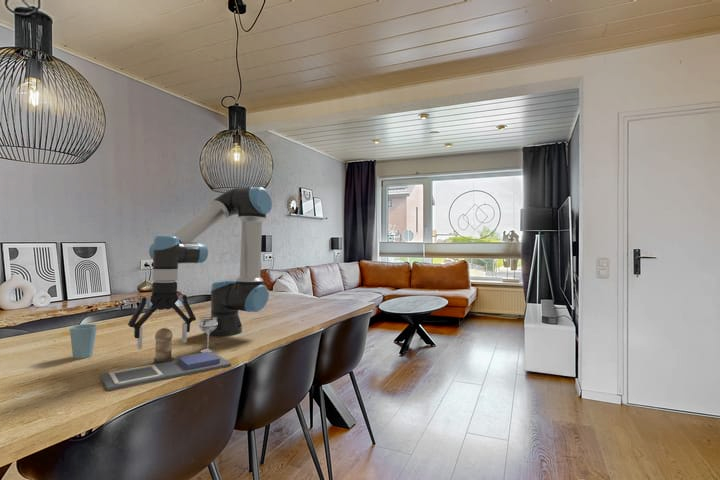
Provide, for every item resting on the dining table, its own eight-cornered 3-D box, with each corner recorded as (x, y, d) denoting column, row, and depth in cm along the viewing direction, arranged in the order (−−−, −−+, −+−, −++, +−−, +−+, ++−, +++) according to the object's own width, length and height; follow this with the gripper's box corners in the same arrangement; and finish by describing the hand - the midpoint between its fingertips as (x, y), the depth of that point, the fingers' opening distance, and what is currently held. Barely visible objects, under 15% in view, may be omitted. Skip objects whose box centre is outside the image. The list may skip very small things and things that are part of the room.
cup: (83, 352, 135) (84, 323, 135) (101, 354, 134) (102, 324, 134) (63, 358, 128) (63, 328, 128) (82, 360, 127) (83, 329, 127)
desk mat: (215, 355, 134) (215, 348, 134) (231, 365, 124) (231, 358, 124) (100, 376, 112) (100, 368, 112) (107, 390, 101) (107, 381, 101)
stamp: (170, 358, 131) (170, 325, 131) (174, 362, 126) (175, 328, 126) (152, 361, 127) (152, 327, 127) (156, 365, 123) (156, 331, 123)
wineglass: (194, 350, 140) (195, 318, 140) (212, 347, 145) (212, 315, 145) (202, 354, 135) (203, 321, 135) (220, 350, 140) (221, 318, 140)
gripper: (199, 279, 138) (197, 337, 137) (119, 282, 122) (116, 348, 121) (206, 281, 132) (204, 341, 132) (123, 283, 116) (121, 353, 115)
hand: (162, 345), depth 126 cm, fingers open, 13 cm apart
